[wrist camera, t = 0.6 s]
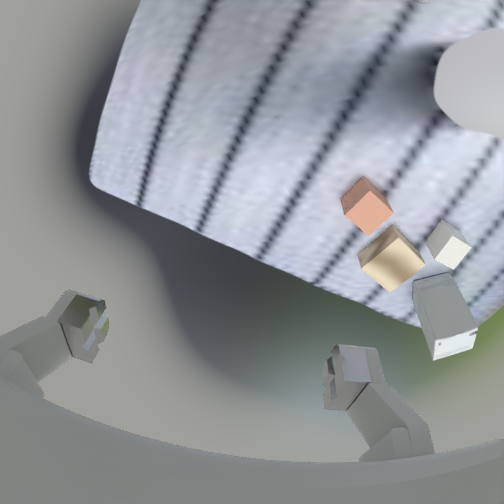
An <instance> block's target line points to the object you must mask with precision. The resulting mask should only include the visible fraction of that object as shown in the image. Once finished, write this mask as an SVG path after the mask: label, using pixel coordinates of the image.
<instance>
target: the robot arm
mask: <svg viewBox="0 0 504 504" xmlns="http://www.w3.org/2000/svg"><path fill="white" fill-rule="evenodd" d="M417 1H421V2H425V3H429V2H431V1H433V0H417ZM105 309H106V305H105V301H104V300H102V299H99V298H96V297H93V296H90V295H86V294H83V293H79V292H76V291H73V290H70V289H69V290H66V291H65V292H64V294H63V295H62V296H61V297H60V299H59V300H58V301H57V302H56V304H55V305H54V307H53V308H52V309H51V310H50V312H49V313H48V314H47V316H46V317H43V316H42V317H40V318H38V319H36V320H33V321H31V322H29V323H27V324H25V325H23V326H20V327H18V328H16V329H14V330H12V331H10V332H8V333H6V334H4V335H2V336H0V504H504V439H495V440H492V441H489V442H485V443H481V444H478V445H474V446H470V447H465V448H461V449H456V450H452V451H446V452H441V453H436V454H435V452H434V448H433V443H432V440H431V435H430V431H429V427H428V424H427V423H426V422H425V421H424V420H423V419H422V418H421V417H420V416H419V415H418V414H417V413H416V412H415V411H414V409H412V407H411V406H409V404H408V403H407V402H406V401H405V400H404V399H403V398H402V397H401V396H400V395H399V394H398V393H397V392H396V391H395V390H394V388H393V387H392V386H391V385H390V384H386V383H385V379H384V375H383V371H382V367H381V363H380V360H379V356H378V352H377V350H376V349H375V348H369V347H358V346H348V345H339V344H336V345H335V346H334V347H333V349H332V351H331V353H332V357H330V358H328V359H327V360H326V362H325V364H324V367H323V372H322V384H323V385H324V386H325V387H326V390H325V392H324V394H323V397H324V408H325V409H328V410H343V411H346V412H347V414H348V416H349V417H350V418H351V420H352V422H353V423H354V424H355V426H356V427H357V429H358V430H359V432H360V433H361V435H362V436H363V438H364V439H365V441H366V442H367V444H368V445H369V447H370V449H369V450H368V451H367V452H365V453H364V454H363V455H362V456H361V457H360V458H359V462H343V463H341V462H340V463H318V462H291V461H276V460H265V459H256V458H247V457H239V456H232V455H226V454H220V453H214V452H208V451H202V450H197V449H193V448H188V447H183V446H179V445H174V444H170V443H166V442H162V441H158V440H155V439H151V438H147V437H144V436H140V435H137V434H133V433H130V432H127V431H124V430H121V429H118V428H115V427H111V426H109V425H106V424H103V423H101V422H98V421H95V420H92V419H90V418H87V417H85V416H82V415H80V414H77V413H75V412H72V411H70V410H67V409H65V408H63V407H61V406H58V405H56V404H54V403H52V402H50V401H47V400H45V399H43V398H44V392H43V391H42V389H41V387H40V386H39V384H38V382H39V381H41V380H42V379H44V378H45V377H46V376H48V375H49V374H51V373H52V372H53V371H55V370H56V369H58V368H59V367H60V366H62V365H63V364H65V363H66V362H68V361H69V360H71V359H72V357H74V358H77V359H80V360H83V361H86V362H90V363H92V362H93V360H94V358H95V357H96V355H97V353H98V351H99V348H98V344H99V343H101V342H103V341H104V339H105V338H106V336H107V332H108V328H109V320H108V316H107V315H106V314H105V313H104V310H105Z"/></svg>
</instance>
